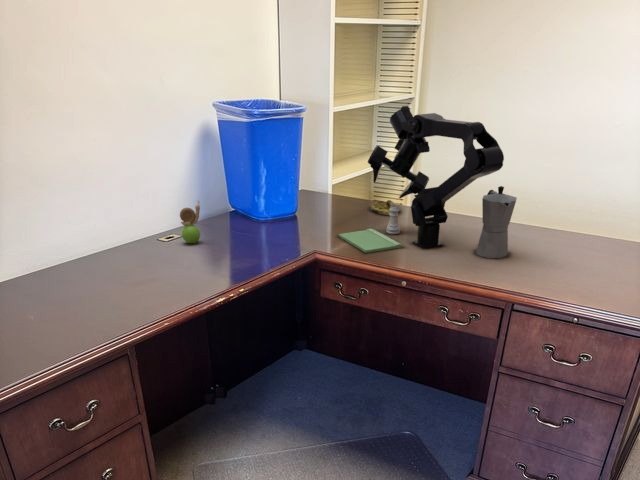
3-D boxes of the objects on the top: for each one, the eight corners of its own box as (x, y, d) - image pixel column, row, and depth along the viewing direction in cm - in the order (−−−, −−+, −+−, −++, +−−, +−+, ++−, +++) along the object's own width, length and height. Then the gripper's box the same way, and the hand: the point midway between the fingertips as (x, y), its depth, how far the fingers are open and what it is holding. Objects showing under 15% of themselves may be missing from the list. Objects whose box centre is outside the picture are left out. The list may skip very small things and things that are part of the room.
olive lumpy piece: (365, 209, 215) (380, 219, 203) (364, 195, 212) (379, 205, 200) (389, 204, 216) (406, 213, 204) (388, 190, 214) (405, 199, 202)
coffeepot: (515, 260, 163) (527, 191, 153) (482, 261, 163) (491, 192, 153) (497, 243, 176) (507, 178, 166) (466, 244, 176) (474, 179, 166)
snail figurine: (206, 244, 180) (201, 202, 173) (185, 246, 178) (179, 205, 171) (202, 239, 184) (197, 198, 177) (181, 241, 182) (175, 200, 175)
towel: (402, 247, 174) (402, 243, 174) (365, 253, 170) (365, 249, 170) (373, 231, 188) (373, 228, 187) (338, 236, 184) (338, 233, 183)
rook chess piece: (383, 231, 188) (384, 205, 183) (396, 230, 189) (397, 204, 184) (389, 235, 184) (391, 208, 180) (402, 233, 185) (404, 207, 181)
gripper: (445, 152, 176) (420, 188, 190) (390, 118, 174) (370, 157, 187) (433, 175, 171) (409, 211, 185) (378, 141, 169) (357, 180, 182)
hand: (387, 189), depth 185 cm, fingers open, 9 cm apart
